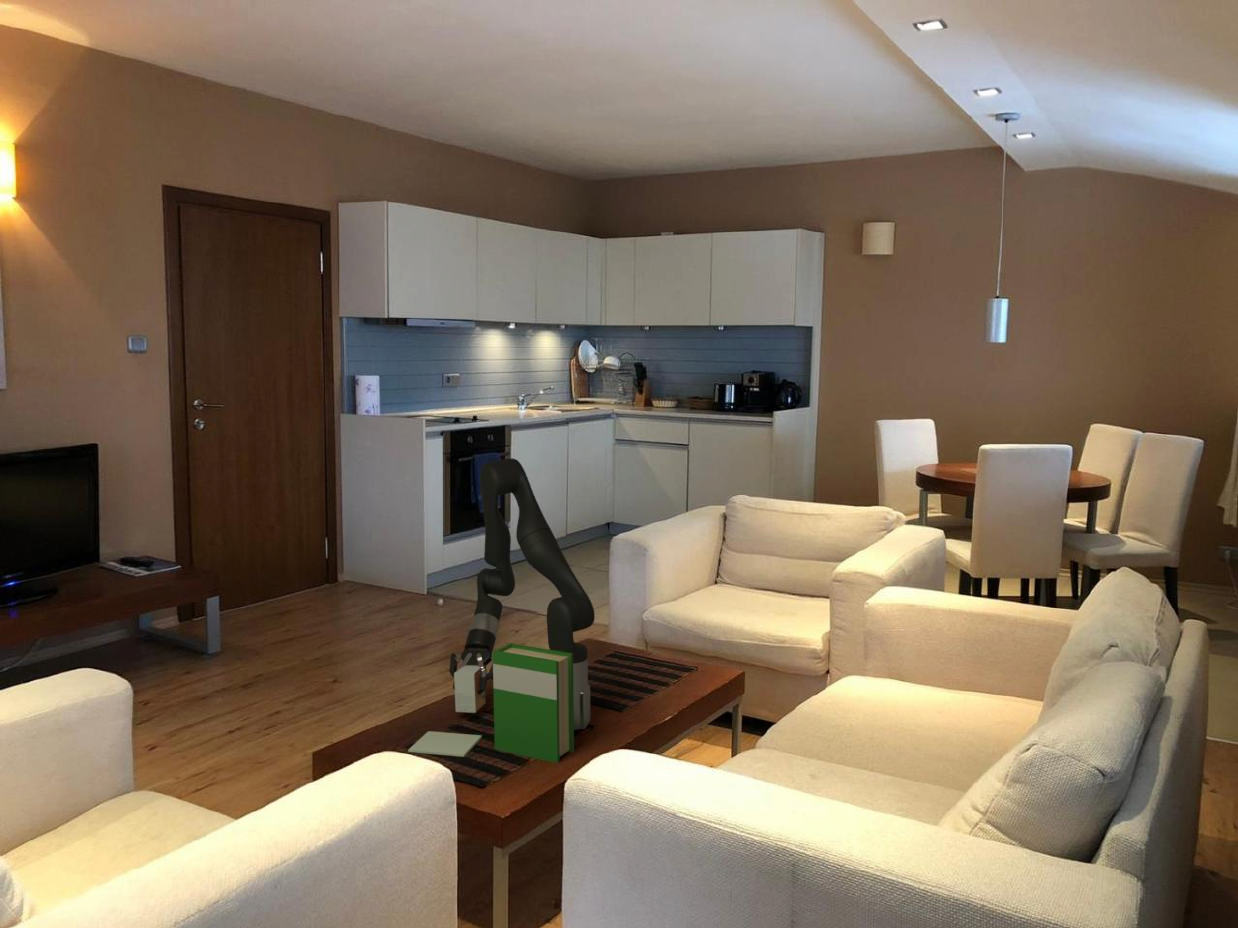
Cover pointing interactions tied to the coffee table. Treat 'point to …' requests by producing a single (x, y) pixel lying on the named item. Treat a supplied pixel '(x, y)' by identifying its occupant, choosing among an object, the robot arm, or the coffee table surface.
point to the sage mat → (445, 743)
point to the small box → (468, 689)
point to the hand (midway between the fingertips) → (467, 691)
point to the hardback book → (533, 701)
